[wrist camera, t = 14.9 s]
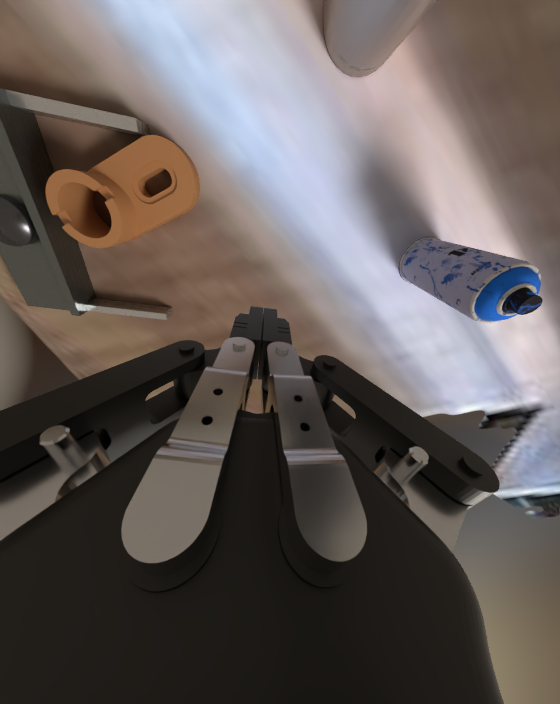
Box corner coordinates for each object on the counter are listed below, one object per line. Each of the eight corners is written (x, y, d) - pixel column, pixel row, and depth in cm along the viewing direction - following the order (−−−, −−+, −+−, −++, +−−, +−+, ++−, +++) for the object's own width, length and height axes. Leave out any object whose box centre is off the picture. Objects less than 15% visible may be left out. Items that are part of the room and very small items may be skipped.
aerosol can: (451, 235, 37) (596, 265, 21) (434, 282, 42) (542, 336, 25) (406, 238, 37) (515, 269, 21) (393, 284, 41) (475, 339, 25)
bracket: (116, 248, 36) (88, 257, 30) (71, 190, 32) (28, 189, 26) (211, 199, 33) (199, 199, 27) (176, 126, 28) (153, 108, 23)
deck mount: (-59, 80, 25) (-124, 57, 21) (147, 125, 28) (126, 112, 24) (44, 297, 40) (19, 309, 36) (172, 312, 43) (162, 325, 39)
